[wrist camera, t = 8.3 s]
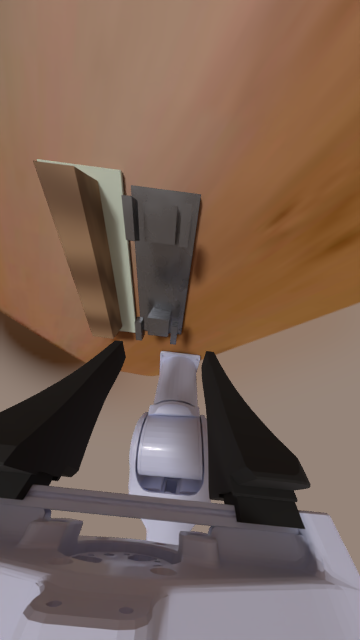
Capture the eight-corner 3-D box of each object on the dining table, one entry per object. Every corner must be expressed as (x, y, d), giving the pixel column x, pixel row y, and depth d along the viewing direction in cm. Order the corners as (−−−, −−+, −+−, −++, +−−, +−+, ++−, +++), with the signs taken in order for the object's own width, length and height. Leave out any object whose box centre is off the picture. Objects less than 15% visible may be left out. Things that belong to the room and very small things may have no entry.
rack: (181, 332, 23) (179, 352, 19) (142, 327, 23) (132, 346, 19) (200, 196, 13) (205, 177, 9) (133, 187, 13) (108, 164, 9)
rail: (122, 326, 23) (113, 338, 20) (104, 324, 23) (92, 336, 20) (97, 181, 13) (73, 166, 10) (65, 177, 13) (32, 160, 10)
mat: (137, 331, 23) (136, 332, 23) (93, 326, 23) (91, 327, 23) (122, 171, 13) (120, 170, 12) (40, 161, 13) (36, 159, 12)
